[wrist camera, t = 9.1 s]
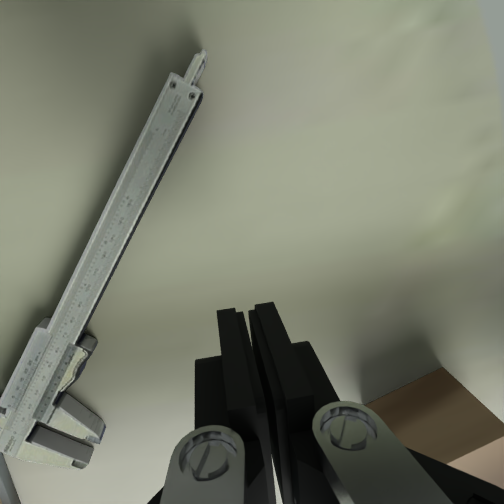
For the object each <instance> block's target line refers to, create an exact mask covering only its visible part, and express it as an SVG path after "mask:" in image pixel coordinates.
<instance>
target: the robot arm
mask: <svg viewBox="0 0 504 504" xmlns="http://www.w3.org/2000/svg"><path fill="white" fill-rule="evenodd" d="M248 313H249V322H250V331H251V340H252V346H251V342H250V338H249V334H248V330H247V326H246V322H245V318H244V314H243V311H242V312H236V310H235V308H230V309H223V310H217V319H218V328H219V337H220V346H221V355H220V356H214V357H208V358H202V359H196V360H195V430H194V431H191V432H190V433H189V434H187V435H186V436H185V437H183V438H182V439H181V441H180V442H179V443H178V444H177V446H176V447H175V449H174V451H173V454H172V456H171V460H170V464H169V468H168V472H167V476H166V480H165V484H164V487H163V488H162V489H161V490H160V491H159V492H158V493H157V494H156V495H155V496H154V497H153V498H152V499H151V500H150V501H149V502H148V503H147V504H276V495H275V486H274V476H273V466H272V458H273V463H274V467H275V472H276V476H277V480H278V485H279V489H280V493H281V498H282V502H283V504H504V489H502V488H500V487H498V486H496V485H494V484H491V483H489V482H487V481H484V480H482V479H480V478H477V477H475V476H473V475H470V474H468V473H466V472H463V471H461V470H459V469H456V468H454V467H452V466H449V465H447V464H445V463H442V462H440V461H438V460H435V459H433V458H431V457H428V456H426V455H424V454H421V453H419V452H417V451H414V450H412V449H409V448H407V447H405V446H404V445H403V444H402V443H401V442H400V440H399V439H398V438H397V437H396V436H395V435H394V433H393V432H392V431H391V430H390V429H389V427H388V426H387V425H386V424H385V423H384V422H383V420H382V419H381V418H380V417H379V416H378V415H377V414H376V413H375V412H374V411H372V410H371V409H369V408H368V407H366V406H364V405H362V404H358V403H355V402H349V401H340V400H339V398H338V396H337V394H336V392H335V390H334V388H333V386H332V384H331V382H330V380H329V379H328V377H327V375H326V373H325V371H324V369H323V367H322V365H321V363H320V361H319V359H318V357H317V356H316V354H315V352H314V350H313V348H312V346H311V344H310V343H309V342H308V341H304V342H298V343H291V341H290V339H289V337H288V334H287V332H286V330H285V327H284V325H283V323H282V321H281V318H280V316H279V314H278V311H277V309H276V307H275V304H274V302H269V303H262V304H256V305H255V310H249V311H248ZM252 349H253V350H252ZM271 454H272V457H271Z"/></svg>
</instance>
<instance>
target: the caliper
mask: <svg viewBox="0 0 504 504" xmlns="http://www.w3.org/2000/svg"><path fill="white" fill-rule="evenodd" d="M206 62H207V50H205V49H202V51H201V52H200V53H196V54H195V56H194V57H193V59H192V61H191V63H190V65H189V67H188V69H187V71H186V74H185V76H184V78H182V77H180V76H179V75H177V74H175V73H173V72H171V73H170V75H169V77H168V79H167V81H166V83H165V85H164V87H163V89H162V91H161V93H160V95H159V97H158V100H157V102H156V104H155V106H154V108H153V110H152V112H151V114H150V116H149V118H148V120H147V122H146V124H145V126H144V128H143V130H142V132H141V134H140V136H139V138H138V140H137V142H136V145H135V147H134V149H133V151H132V153H131V155H130V157H129V159H128V161H127V163H126V165H125V167H124V169H123V171H122V173H121V175H120V177H119V179H118V181H117V184H116V186H115V188H114V190H113V192H112V194H111V196H110V198H109V200H108V202H107V204H106V206H105V209H104V211H103V213H102V215H101V217H100V219H99V221H98V223H97V225H96V227H95V229H94V231H93V233H92V236H91V238H90V240H89V242H88V244H87V246H86V248H85V250H84V252H83V254H82V256H81V258H80V260H79V263H78V265H77V267H76V269H75V271H74V273H73V275H72V277H71V279H70V281H69V283H68V285H67V287H66V290H65V292H64V294H63V296H62V298H61V300H60V302H59V304H58V306H57V308H56V310H55V312H54V314H53V317H52V318H46V317H45V318H44V319H43V321H42V322H41V323H40V324H39V325H38V326H37V327H36V328H35V330H34V332H33V334H32V336H31V338H30V340H29V342H28V344H27V346H26V348H25V350H24V352H23V354H22V356H21V358H20V360H19V362H18V364H17V366H16V368H15V370H14V372H13V374H12V376H11V378H10V380H9V382H8V384H7V386H6V388H5V390H4V392H3V395H2V397H0V452H2V453H4V454H7V455H9V456H12V457H14V458H17V459H19V460H22V461H27V462H33V463H39V464H45V465H50V466H56V467H62V468H69V469H76V470H81V469H83V468H85V467H86V466H87V465H88V464H89V461H90V459H91V456H92V453H93V451H94V448H92V447H89V446H86V445H84V444H81V443H78V442H76V441H74V440H71V439H69V438H67V437H64V436H62V435H60V434H57V433H55V432H52V431H50V430H48V429H45V428H43V427H41V426H38V425H36V423H37V421H39V422H43V423H45V424H46V425H48V426H50V427H53V428H55V429H57V430H60V431H62V432H65V433H67V434H70V435H72V436H75V437H77V438H80V439H87V440H89V441H91V442H93V443H97V444H100V443H101V440H102V437H103V434H104V432H105V428H106V426H105V424H104V422H103V421H102V419H100V418H99V417H98V416H96V415H95V414H94V413H92V412H91V411H90V410H88V409H87V408H86V407H84V406H83V405H82V404H80V403H79V402H78V401H76V400H75V399H74V398H72V397H71V396H70V395H68V394H67V393H66V392H64V391H65V390H67V389H68V388H69V387H70V386H71V385H72V384H73V383H74V382H75V381H76V380H77V379H78V378H79V377H80V375H81V373H82V371H83V369H84V368H85V365H86V362H87V360H88V359H89V358H90V356H91V354H92V353H93V351H94V349H95V347H96V346H97V343H98V341H97V339H95V338H93V337H91V336H89V335H87V334H85V333H84V331H85V329H86V327H87V325H88V323H89V321H90V319H91V317H92V315H93V313H94V311H95V309H96V307H97V305H98V303H99V301H100V299H101V297H102V295H103V293H104V291H105V289H106V287H107V285H108V283H109V281H110V279H111V277H112V275H113V273H114V271H115V269H116V267H117V265H118V263H119V261H120V259H121V257H122V255H123V253H124V251H125V250H126V248H127V246H128V244H129V242H130V240H131V238H132V236H133V234H134V232H135V230H136V228H137V226H138V224H139V222H140V220H141V218H142V216H143V214H144V212H145V210H146V208H147V206H148V204H149V203H150V201H151V199H152V197H153V195H154V193H155V191H156V189H157V187H158V185H159V183H160V181H161V179H162V177H163V175H164V173H165V172H166V170H167V168H168V166H169V164H170V162H171V160H172V158H173V156H174V154H175V152H176V150H177V148H178V146H179V144H180V142H181V141H182V139H183V137H184V135H185V133H186V131H187V129H188V127H189V125H190V123H191V121H192V119H193V117H194V115H195V113H196V111H197V110H198V108H199V106H200V104H201V102H202V99H203V95H204V94H203V91H202V90H201V89H199V88H198V87H197V86H195V85H196V83H197V81H198V79H199V77H200V75H201V73H202V72H203V70H204V68H205V65H206Z"/></svg>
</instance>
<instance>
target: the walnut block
mask: <svg viewBox="0 0 504 504" xmlns="http://www.w3.org/2000/svg"><path fill="white" fill-rule="evenodd" d="M364 406H366V407H368V408H369V409H371V410H372V411H374V412H375V413H376V414H377V415H378V416H379V417H380V418H381V419H382V420H383V422H384V423H385V424H386V425H387V426H388V427H389V429H390V430H391V431H392V432H393V433H394V435H395V436H396V437H397V438H398V439H399V440H400V442H401V443H402V444H403V445H404V446H405V447H407V448H409V449H412V450H414V451H417V452H419V453H421V454H424V455H426V456H428V457H431V458H433V459H435V460H438V461H440V462H442V463H445V464H447V465H449V466H452V467H454V468H456V469H459V470H461V471H463V472H466V473H468V474H470V475H473V476H475V477H477V478H480V479H482V480H484V481H487V482H489V483H491V484H494V485H496V486H498V487H500V488H502V489H504V423H503V422H502V421H501V420H500V419H498V418H497V417H496V416H495V415H494V414H493V413H492V412H491V411H490V410H489V409H488V408H487V407H485V406H484V405H483V404H482V403H481V402H480V401H479V400H478V399H477V398H476V397H475V396H474V395H473V394H471V393H470V392H469V391H468V390H467V389H466V388H465V387H464V386H463V385H462V384H461V383H460V382H458V381H457V380H456V379H455V378H454V377H453V376H452V375H451V374H450V373H449V372H448V371H447V370H445V369H444V368H443V367H442V368H440V369H438V370H436V371H434V372H432V373H430V374H428V375H426V376H423V377H421V378H419V379H417V380H415V381H413V382H411V383H409V384H407V385H405V386H403V387H401V388H399V389H397V390H395V391H393V392H391V393H389V394H387V395H385V396H383V397H381V398H378V399H376V400H374V401H372V402H370V403H368V404H366V405H364Z"/></svg>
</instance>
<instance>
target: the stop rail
mask: <svg viewBox="0 0 504 504" xmlns="http://www.w3.org/2000/svg"><path fill="white" fill-rule="evenodd" d="M0 504H21V503H20V501H19V498H18V495H17V493H16V490H15V487H14V484H13V482H12V479H11V476H10V474H9V471H8V468H7V466H6V463H5V460H4V457H3V455H2V452H0Z"/></svg>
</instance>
